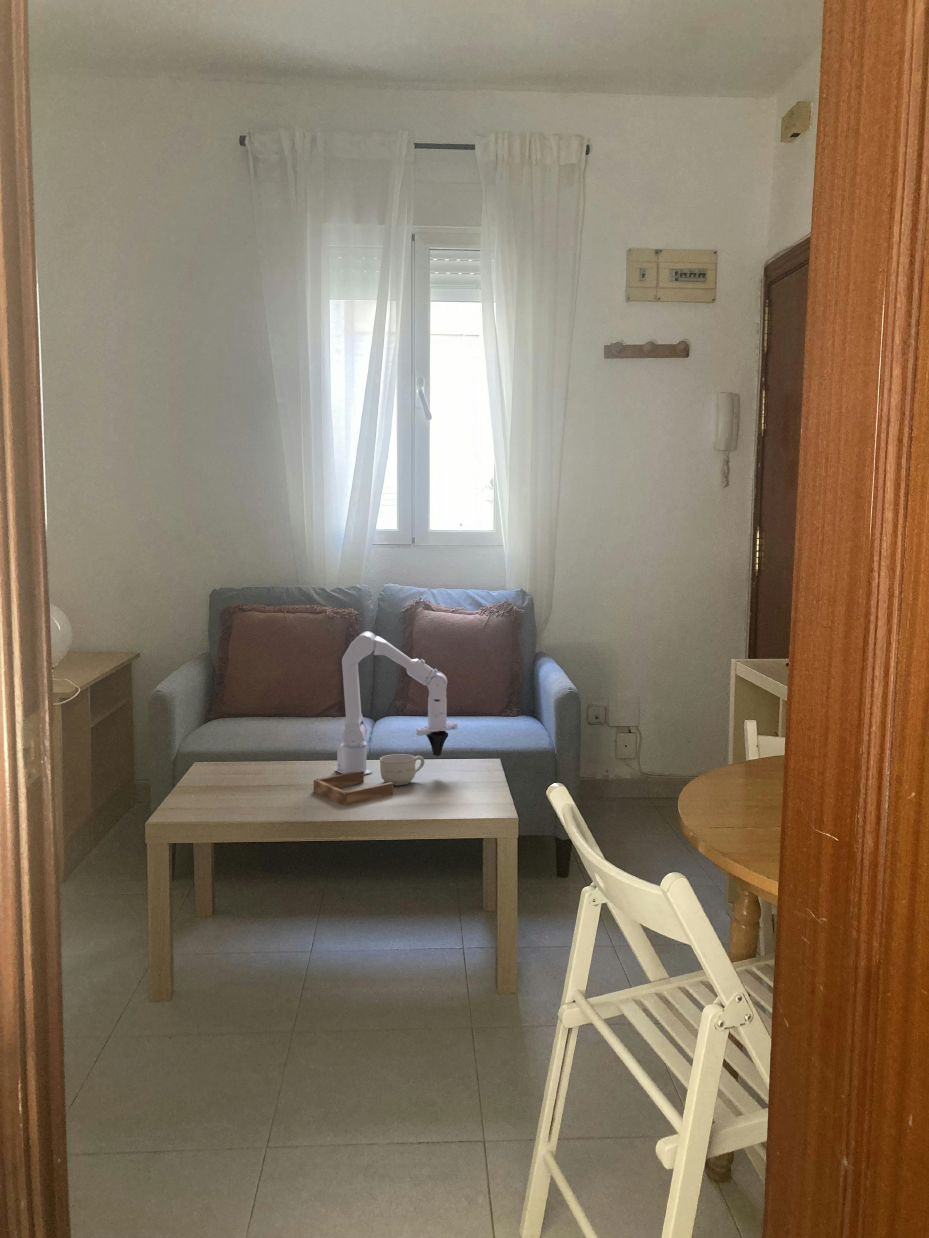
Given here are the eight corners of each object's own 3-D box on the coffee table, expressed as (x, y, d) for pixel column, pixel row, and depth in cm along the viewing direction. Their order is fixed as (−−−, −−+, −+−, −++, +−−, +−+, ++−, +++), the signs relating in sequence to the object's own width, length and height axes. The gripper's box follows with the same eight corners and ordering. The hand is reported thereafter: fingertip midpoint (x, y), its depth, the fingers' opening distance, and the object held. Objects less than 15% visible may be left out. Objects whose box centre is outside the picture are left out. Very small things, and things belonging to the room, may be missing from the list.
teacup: (383, 789, 277) (383, 762, 276) (376, 778, 287) (376, 753, 286) (429, 786, 281) (429, 760, 280) (421, 776, 291) (421, 750, 290)
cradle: (313, 791, 273) (313, 779, 273) (361, 781, 284) (361, 770, 284) (344, 805, 261) (344, 793, 261) (393, 794, 272) (393, 783, 271)
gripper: (426, 717, 282) (426, 761, 284) (463, 711, 291) (463, 754, 293) (412, 713, 287) (412, 756, 289) (449, 707, 297) (448, 749, 298)
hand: (436, 755), depth 291 cm, fingers closed
